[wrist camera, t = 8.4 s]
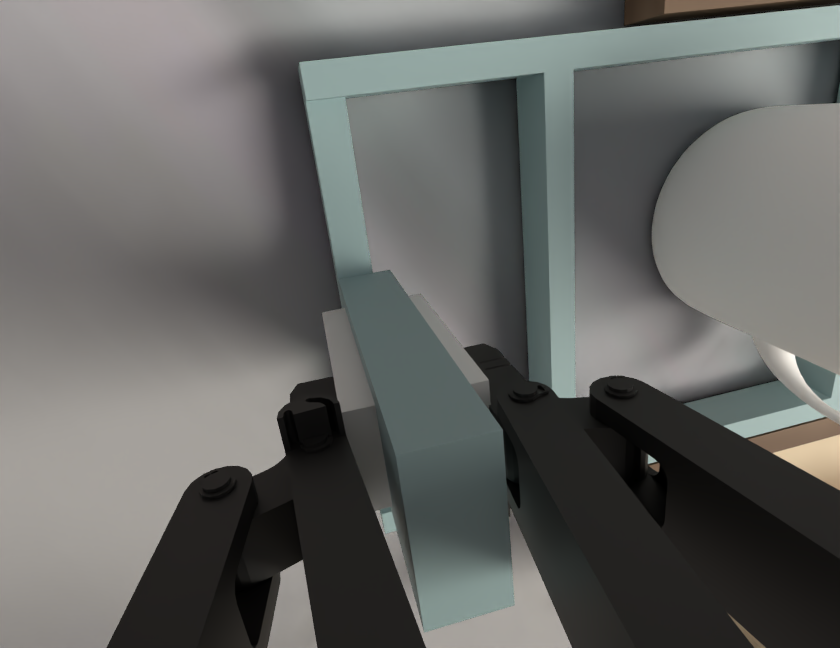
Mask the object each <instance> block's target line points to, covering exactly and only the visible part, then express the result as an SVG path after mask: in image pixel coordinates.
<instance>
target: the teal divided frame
mask: <svg viewBox="0 0 840 648" xmlns="http://www.w3.org/2000/svg"><path fill="white" fill-rule="evenodd" d="M834 40H840V5H836V6H826V7H817V8H807V9H798V10H788V11H779V12H769V13H760V14H751V15H741V16H732V17H722V18H713V19H703V20H694V21H684V22H675V23H665V24H656V25H646V26H637V27H627V28H618V29H608V30H599V31H589V32H580V33H570V34H561V35H551V36H542V37H532V38H523V39H513V40H504V41H494V42H485V43H476V44H466V45H457V46H447V47H438V48H428V49H419V50H409V51H400V52H390V53H381V54H371V55H362V56H352V57H343V58H333V59H324V60H314V61H305V62H299V66H298V73H299V78H300V84H301V89H302V95H303V100H304V106H305V111H306V116H307V122H308V127H309V133H310V138H311V144H312V149H313V154H314V160H315V165H316V171H317V176H318V182H319V187H320V192H321V198H322V203H323V209H324V214H325V220H326V225H327V230H328V236H329V241H330V247H331V252H332V258H333V263H334V268H335V274H336V279H337V285H338V290H339V296H340V301H341V306H342V308H345V310H346V314H347V317H348V320H349V323H350V326H351V330H352V333H353V336H354V339H355V342H356V346H357V349H358V352H359V355H360V358H361V362H362V365H363V368H364V371H365V374H366V378H367V381H368V384H369V387H370V390H371V394H372V397H373V400H374V403H375V407H376V413H377V419H378V425H379V431H380V437H381V442H382V448H383V454H384V460H385V466H386V471H387V477H388V483H389V489H390V495H391V501H392V507H388V508H384V509H380V514H381V518H382V522H383V526H384V530H385V534H386V533H390V532H393V531H397V533H398V537H399V540H400V544H401V548H402V552H403V555H404V559H405V563H406V566H407V570H408V574H409V578H410V581H411V585H412V589H413V592H414V596H415V600H416V604H417V607H418V611H419V615H420V618H421V622H422V626H423V630H424V632H428V631H431V630H434V629H437V628H441V627H444V626H447V625H451V624H454V623H457V622H461V621H464V620H467V619H471V618H474V617H477V616H480V615H484V614H487V613H490V612H494V611H497V610H500V609H504V608H507V607H510V606H514V605H515V604H514V589H513V574H512V559H511V544H510V530H509V515H508V500H507V485H506V470H505V455H504V440H503V429H502V428H501V426H500V425H499V424H498V422H497V421H496V419H495V418H494V417H493V415H492V414H491V412H490V411H489V409H488V408H487V407H486V405H485V404H484V402H483V401H482V400H481V398H480V397H479V395H478V394H477V393H476V391H475V390H474V388H473V387H472V385H471V384H470V383H469V381H468V380H467V378H466V377H465V376H464V374H463V373H462V371H461V370H460V369H459V367H458V366H457V364H456V363H455V361H454V360H453V359H452V357H451V356H450V354H449V353H448V352H447V350H446V349H445V347H444V346H443V345H442V343H441V342H440V340H439V339H438V337H437V336H436V335H435V333H434V332H433V330H432V329H431V328H430V326H429V325H428V323H427V322H426V321H425V319H424V318H423V316H422V315H421V313H420V312H419V311H418V309H417V308H416V306H415V305H414V304H413V302H412V301H411V299H410V298H409V297H408V295H407V294H406V292H405V291H404V289H403V288H402V287H401V285H400V284H399V282H398V281H397V280H396V278H395V277H394V275H393V274H392V272H391V271H390V270H387V271H381V272H376V273H373V272H372V265H371V259H370V253H369V246H368V240H367V233H366V227H365V221H364V214H363V208H362V201H361V195H360V189H359V182H358V176H357V169H356V163H355V157H354V150H353V144H352V138H351V131H350V125H349V118H348V112H347V106H346V99H347V98H355V97H363V96H372V95H380V94H389V93H397V92H405V91H414V90H422V89H431V88H439V87H447V86H456V85H464V84H473V83H481V82H489V81H498V80H506V79H515V78H516V82H517V106H518V129H519V152H520V176H521V199H522V222H523V246H524V269H525V293H526V316H527V339H528V363H529V381H533V382H539V383H542V384H545V385H547V386H548V387H550V388H551V389H552V390H553V391H554V392H555V393H556V395H557V396H558V397H559V398H575V231H574V71H582V70H590V69H598V68H607V67H615V66H624V65H632V64H640V63H649V62H657V61H666V60H674V59H682V58H691V57H699V56H708V55H716V54H724V53H733V52H741V51H750V50H758V49H766V48H775V47H783V46H792V45H800V44H808V43H817V42H825V41H834ZM836 103H840V84H839V90H838V96H837V102H836ZM795 359H796V363H797V366H798V369H799V371H800V374H801V375H802V377H803V379H804V381H805V382H806V384H807V385H808V386H809V387H810V389H811V390H812V391H813V392H814V393H815V394H816V395H817V396H818V397H819V398H820V399H821V400H822V401H823V402H824V403H826V404H827V405H829V406H830V407H831V408H833V409H835V410H837V411H839V412H840V375H838V374H835V373H833V372H831V371H829V370H826V369H824V368H822V367H820V366H818V365H815V364H813V363H811V362H809V361H807V360H804V359H802V358H800V357H798V356H795ZM684 405H686V406H688V407H690V408H691V409H693V410H695V411H697V412H699V413H700V414H702V415H704V416H706V417H708V418H709V419H711V420H713V421H715V422H717V423H719V424H720V425H722V426H724V427H726V428H728V429H729V430H731V431H733V432H735V433H737V434H738V435H740V436H742V437H744V438H748V437H751V436H755V435H759V434H763V433H766V432H770V431H774V430H778V429H781V428H785V427H789V426H793V425H797V424H800V423H804V422H808V421H812V420H815V419H819V418H823V417H826V416H824V415H822V414H821V413H819V412H818V411H816V410H815V409H813V408H812V407H810V406H809V405H808V404H806V403H805V402H804V401H802V400H801V399H800V398H798V397H797V396H796V395H795V394H794V393H792V392H791V391H790V390H789V389H788V388H787V387H786V386H785V385H784V384H783V383H782V382H780V381H779V380H778V381H774V382H770V383H766V384H761V385H757V386H753V387H749V388H745V389H741V390H737V391H733V392H729V393H725V394H721V395H717V396H713V397H709V398H705V399H701V400H697V401H693V402H688V403H684ZM653 462H657V461H656V460H655V459H654V458H652V457H651V456H650V455H648V464H650V463H653Z"/></svg>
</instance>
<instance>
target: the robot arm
mask: <svg viewBox="0 0 840 648" xmlns="http://www.w3.org/2000/svg"><path fill="white" fill-rule="evenodd" d="M408 297H409V298H410V299H411V301H412V302H413V304H414V305H415V306H416V308H417V309H418V311H419V312H420V313H421V315H422V316H423V318H424V319H425V321H426V322H427V323H428V325H429V326H430V328H431V329H432V330H433V332H434V333H435V335H436V336H437V337H438V339H439V340H440V342H441V343H442V345H443V346H444V347H445V349H446V350H447V352H448V353H449V354H450V356H451V357H452V359H453V360H454V361H455V363H456V364H457V366H458V367H459V369H460V370H461V371H462V373H463V374H464V376H465V377H466V378H467V380H468V381H469V383H470V384H471V385H472V387H473V388H474V390H475V391H476V393H477V394H478V395H479V397H480V398H481V400H482V401H483V402H484V404H485V405H486V407H487V408H488V409H489V411H490V412H491V414H492V415H493V417H494V418H495V419H496V421H497V422H498V424H499V425H500V426H501V428H502V429H503V440H504V455H505V470H506V485H507V500H508V515H509V517H510V508H511V509H512V511H513V513H514V516H515V518H516V520H517V522H518V525H519V527H520V529H521V532H522V534H523V536H524V538H525V541H526V543H527V545H528V548H529V550H530V552H531V554H532V557H533V559H534V561H535V564H536V566H537V568H538V570H539V573H540V575H541V577H542V580H543V582H544V584H545V586H546V589H547V591H548V593H549V596H550V598H551V600H552V602H553V605H554V607H555V609H556V612H557V614H558V616H559V618H560V621H561V623H562V625H563V628H564V630H565V632H566V634H567V637H568V639H569V641H570V644H571V646H572V648H754V647H753V645H752V644H751V643H750V642H749V640H748V639H747V638H746V636H745V635H744V634H743V633H742V631H741V630H740V629H739V627H738V626H737V625H736V624H735V622H734V621H733V620H732V619H731V617H732V618H733V619H735V620H736V621H737V622H738V623H739V624H740V625H741V626H742V627H743V628H745V629H746V630H747V631H748V632H749V633H750V634H751V635H752V636H753V637H755V638H756V639H757V640H758V641H759V642H760V643H761V644H762V645H763V646H765V647H766V648H840V490H838V489H836V488H835V487H833V486H831V485H829V484H827V483H826V482H824V481H822V480H820V479H818V478H816V477H815V476H813V475H811V474H809V473H807V472H806V471H804V470H802V469H800V468H798V467H796V466H795V465H793V464H791V463H789V462H787V461H786V460H784V459H782V458H780V457H778V456H777V455H775V454H773V453H771V452H769V451H767V450H766V449H764V448H762V447H760V446H758V445H757V444H755V443H753V442H751V441H749V440H748V439H746V438H744V437H742V436H740V435H738V434H737V433H735V432H733V431H731V430H729V429H728V428H726V427H724V426H722V425H720V424H719V423H717V422H715V421H713V420H711V419H709V418H708V417H706V416H704V415H702V414H700V413H699V412H697V411H695V410H693V409H691V408H690V407H688V406H686V405H684V404H682V403H680V402H679V401H677V400H675V399H673V398H671V397H670V396H668V395H666V394H664V393H662V392H660V391H659V390H657V389H655V388H653V387H651V386H650V385H648V384H646V383H644V382H642V381H639V380H637V379H634V378H629V377H625V376H609V377H605V378H600V379H598V380H596V381H594V382H593V383H592V384H591V386H590V396H589V397H582V398H559V397H558V396H557V395H556V393H555V392H554V391H553V390H552V389H551V388H550V387H548V386H547V385H545V384H542V383H539V382H533V381H526V380H525V378H524V377H523V376H522V375H521V374H520V373H519V372H518V371H517V370H516V369H515V368H514V367H513V366H512V365H510V362H509V361H508V360H507V359H506V358H504V356H503V355H502V354H501V353H500V352H499V351H498V350H497V349H496V348H493V347H491V346H488V345H486V344H480V345H475V346H470V347H465V348H463V347H462V345H461V344H460V343H459V342H458V340H457V339H456V338H455V337H454V335H453V334H452V333H451V331H450V330H449V329H448V328H447V326H446V325H445V324H444V323H443V321H442V320H441V319H440V318H439V316H438V315H437V314H436V312H435V311H434V310H433V309H432V307H431V306H430V305H429V304H428V302H427V301H426V300H425V299H424V297H423V296H422V295H421V294H417V295H412V296H408ZM322 317H323V323H324V328H325V334H326V339H327V345H328V350H329V356H330V361H331V367H332V372H333V377H328V378H324V379H319V380H314V381H309V382H305V383H300V384H297V386H296V387H295V388H294V390H293V391H292V392H291V394H290V403H288V404H287V405H285V406H284V407H283V408H282V409H281V410H280V411H279V412H278V416H277V421H278V425H279V429H280V433H281V437H282V441H283V445H284V449H285V453H286V456H285V457H284V458H283V459H282V460H281V461H280V462H279V463H278V464H276V465H275V466H273V467H272V468H270V469H268V470H266V471H264V472H262V473H259V474H257V475H255V476H253V477H252V474H251V473H250V472H249V470H248V469H246V468H243V467H240V466H226V467H222V468H217V469H214V470H211V471H210V472H207V473H205V474H203V475H201V476H200V477H199V478H197V479H196V480H195V481H193V482H192V483H191V484H190V485H189V487H188V488H187V489H186V490H185V492H184V494H183V496H182V498H181V500H180V502H179V504H178V506H177V508H176V510H175V512H174V514H173V516H172V518H171V520H170V522H169V524H168V526H167V528H166V530H165V532H164V534H163V536H162V538H161V540H160V542H159V544H158V546H157V548H156V550H155V552H154V554H153V556H152V558H151V560H150V562H149V564H148V566H147V568H146V570H145V572H144V574H143V576H142V578H141V580H140V582H139V584H138V586H137V588H136V590H135V592H134V594H133V596H132V598H131V600H130V602H129V604H128V606H127V608H126V610H125V612H124V614H123V616H122V618H121V620H120V622H119V624H118V626H117V628H116V630H115V632H114V634H113V636H112V638H111V640H110V642H109V644H108V646H107V648H267V646H268V641H269V636H270V631H271V626H272V621H273V616H274V611H275V606H276V601H277V595H278V590H279V585H280V572H281V571H283V570H284V569H286V568H288V567H290V566H292V565H294V564H295V563H297V562H299V561H301V560H303V562H304V568H305V575H306V581H307V587H308V593H309V599H310V605H311V611H312V617H313V623H314V629H315V635H316V641H317V648H426V646H425V644H424V641H423V638H422V636H421V633H420V631H419V628H418V625H417V623H416V620H415V617H414V615H413V612H412V609H411V607H410V604H409V601H408V599H407V596H406V593H405V591H404V588H403V585H402V583H401V580H400V577H399V575H398V572H397V569H396V567H395V564H394V561H393V559H392V556H391V553H390V551H389V548H388V545H387V543H386V540H385V537H384V535H383V532H382V529H381V527H380V524H379V521H378V519H377V516H376V513H375V511H376V510H380V509H384V508H388V507H392V501H391V495H390V489H389V483H388V477H387V471H386V466H385V460H384V454H383V448H382V442H381V437H380V431H379V425H378V419H377V413H376V407H375V403H374V400H373V397H372V394H371V390H370V387H369V384H368V381H367V378H366V374H365V371H364V368H363V365H362V362H361V358H360V355H359V352H358V349H357V346H356V342H355V339H354V336H353V333H352V330H351V326H350V323H349V320H348V317H347V314H346V310H345V308H342V309H337V310H332V311H326V312H322ZM648 455H650V456H651V457H652V458H654V459H655V460H656V461H657V462H658V463H659V464H660V465H659V472H657V471H655V470H654V469H652V468H651V467H650V466H648ZM728 614H729V615H730V616H731V617H730V616H729V615H728Z"/></svg>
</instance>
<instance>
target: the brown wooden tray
mask: <svg viewBox="0 0 840 648" xmlns="http://www.w3.org/2000/svg"><path fill="white" fill-rule="evenodd" d="M836 3H840V0H625V14H624V26H626V25H636V24H645V23H655V22H664V21H674V20H683V19H693V18H703V17H712V16H722V15H731V14H741V13H750V12H760V11H769V10H779V9H789V8H798V7H808V6H817V5H827V4H836ZM836 435H840V425H839V424H837V423H836V422H834V421H832V420H831V419H829V418H827V417H823V418H819V419H815V420H812V421H808V422H804V423H800V424H797V425H793V426H789V427H785V428H781V429H778V430H774V431H770V432H766V433H763V434H759V435H755V436H751V437H748V438H746V439H748V440H749V441H751V442H753V443H755V444H757V445H758V446H760V447H762V448H764V449H766V450H767V451H769V452H771V453H774V452H778V451H782V450H785V449H789V448H793V447H796V446H800V445H804V444H807V443H811V442H815V441H818V440H822V439H826V438H829V437H833V436H836ZM659 465H660V464H659V463H658V462H653V463H650V464H648V466H650V467H651V468H652V469H654V470H655V471H657V472H659Z"/></svg>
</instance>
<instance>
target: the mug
mask: <svg viewBox="0 0 840 648" xmlns="http://www.w3.org/2000/svg"><path fill="white" fill-rule="evenodd" d="M652 248H653V255H654V258H655V262H656V265H657V268H658V270H659V272H660V275H661V277H662V279H663V281H664V282H665V284H666V285H667V287H668V288H669V289H670V290H671V291H672V292H673V294H674V295H676V296H677V297H678V298H679V299H680V300H682V301H683V302H684V303H686V304H687V305H688V306H690V307H692V308H694V309H696V310H698V311H699V312H701V313H703V314H705V315H707V316H709V317H711V318H714V319H716V320H718V321H720V322H722V323H725V324H727V325H729V326H731V327H733V328H736V329H738V330H740V331H742V332H745V333H747V334H749V335H751V336H752V338H753V341H754V344H755V346H756V348H757V350H758V352H759V354H760V356H761V357H762V359H763V361H764V362H765V364H766V365H767V366H768V368H769V369H770V370H771V372H772V373H773V374H774V375H775V376H776V377H777V378H778V380H779V381H780V382H782V383H783V384H784V385H785V386H786V387H787V388H788V389H789V390H790V391H791V392H792V393H794V394H795V395H796V396H797V397H798V398H800V399H801V400H802V401H804V402H805V403H806V404H808V405H809V406H810V407H812V408H813V409H815V410H816V411H818V412H819V413H821V414H822V415H824V416H826V417H827V418H829V419H831V420H832V421H834V422H836V423H837V424H839V425H840V412H839V411H837V410H835V409H833V408H831V407H830V406H829V405H827V404H826V403H824V402H823V401H822V400H821V399H820V398H819V397H818V396H817V395H816V394H815V393H814V392H813V391H812V390H811V389H810V387H809V386H808V385H807V384H806V382H805V381H804V379H803V377H802V375H801V374H800V371H799V369H798V366H797V363H796V359H795V356H798V357H800V358H802V359H804V360H807V361H809V362H811V363H813V364H815V365H818V366H820V367H822V368H824V369H826V370H829V371H831V372H833V373H835V374H838V375H840V103H830V104H806V105H785V106H771V107H763V108H758V109H753V110H749V111H745V112H742V113H739V114H737V115H734V116H731V117H729V118H727V119H725V120H723V121H721V122H720V123H718V124H716V125H715V126H713V127H712V128H710V129H709V130H708V131H706V132H705V133H704V134H702V135H701V136H700V137H699V138H698V139H697V140H696V141H695V142H693V143H692V144H691V145H690V146H689V148H688V149H687V150H686V151H685V152H684V153H683V154H682V155H681V157H680V158H679V160H678V161H677V162H676V164H675V165H674V166H673V168H672V170H671V172H670V173H669V175H668V177H667V178H666V180H665V183H664V185H663V187H662V189H661V191H660V194H659V197H658V200H657V203H656V207H655V211H654V216H653V223H652Z"/></svg>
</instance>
